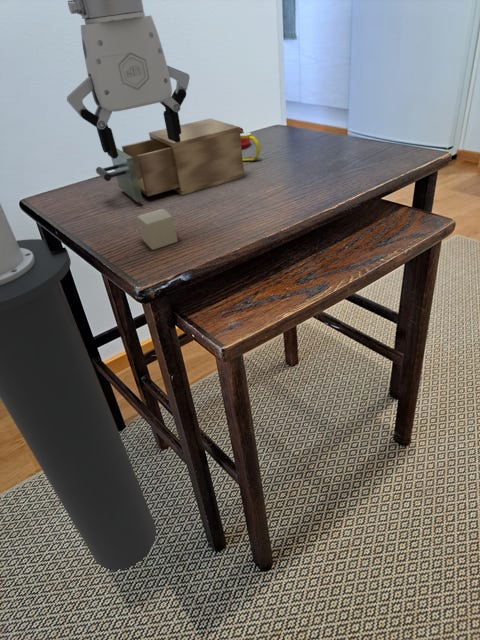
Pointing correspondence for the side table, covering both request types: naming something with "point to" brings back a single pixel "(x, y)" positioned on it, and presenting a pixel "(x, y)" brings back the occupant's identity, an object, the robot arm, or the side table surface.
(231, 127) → the cabinet
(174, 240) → the block
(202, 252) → the side table surface
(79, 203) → the side table surface
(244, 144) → the tracker holder
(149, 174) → the drawer
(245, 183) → the side table surface
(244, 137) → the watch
